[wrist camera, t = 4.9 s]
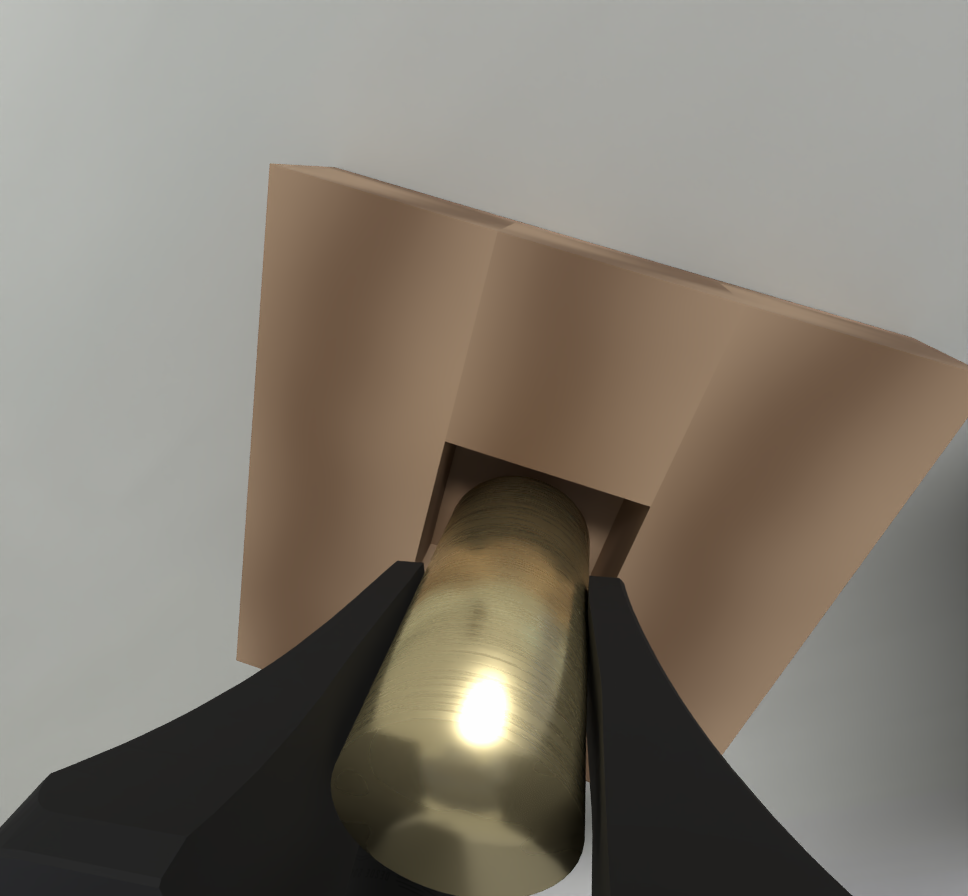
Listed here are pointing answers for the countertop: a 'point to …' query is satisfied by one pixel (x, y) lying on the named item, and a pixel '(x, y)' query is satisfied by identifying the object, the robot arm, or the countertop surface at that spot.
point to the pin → (481, 705)
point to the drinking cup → (382, 880)
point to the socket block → (569, 425)
